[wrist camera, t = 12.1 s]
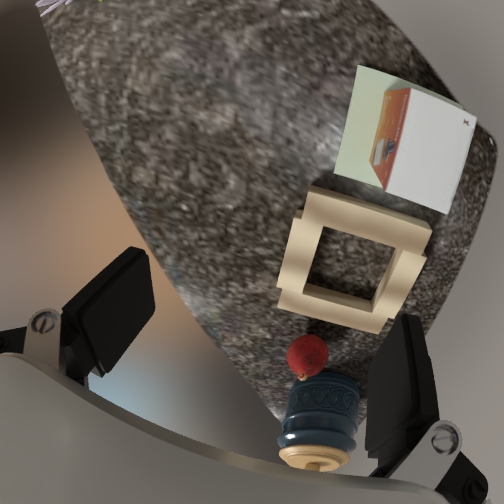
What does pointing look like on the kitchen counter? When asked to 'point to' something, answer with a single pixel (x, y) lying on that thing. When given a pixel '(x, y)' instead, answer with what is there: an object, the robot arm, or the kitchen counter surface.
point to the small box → (421, 147)
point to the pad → (367, 122)
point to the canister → (320, 422)
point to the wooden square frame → (364, 225)
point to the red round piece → (307, 356)
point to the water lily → (48, 0)
